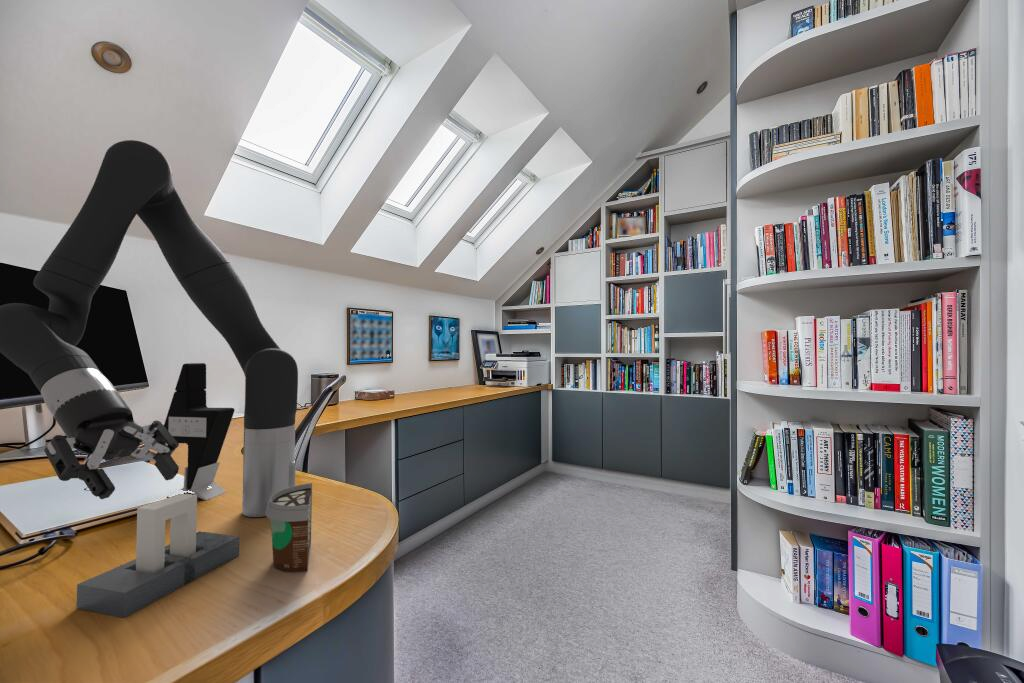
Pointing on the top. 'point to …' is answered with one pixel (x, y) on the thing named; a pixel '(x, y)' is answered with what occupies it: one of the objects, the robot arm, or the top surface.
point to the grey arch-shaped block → (153, 531)
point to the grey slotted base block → (153, 577)
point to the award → (198, 430)
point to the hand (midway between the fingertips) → (143, 484)
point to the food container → (291, 527)
